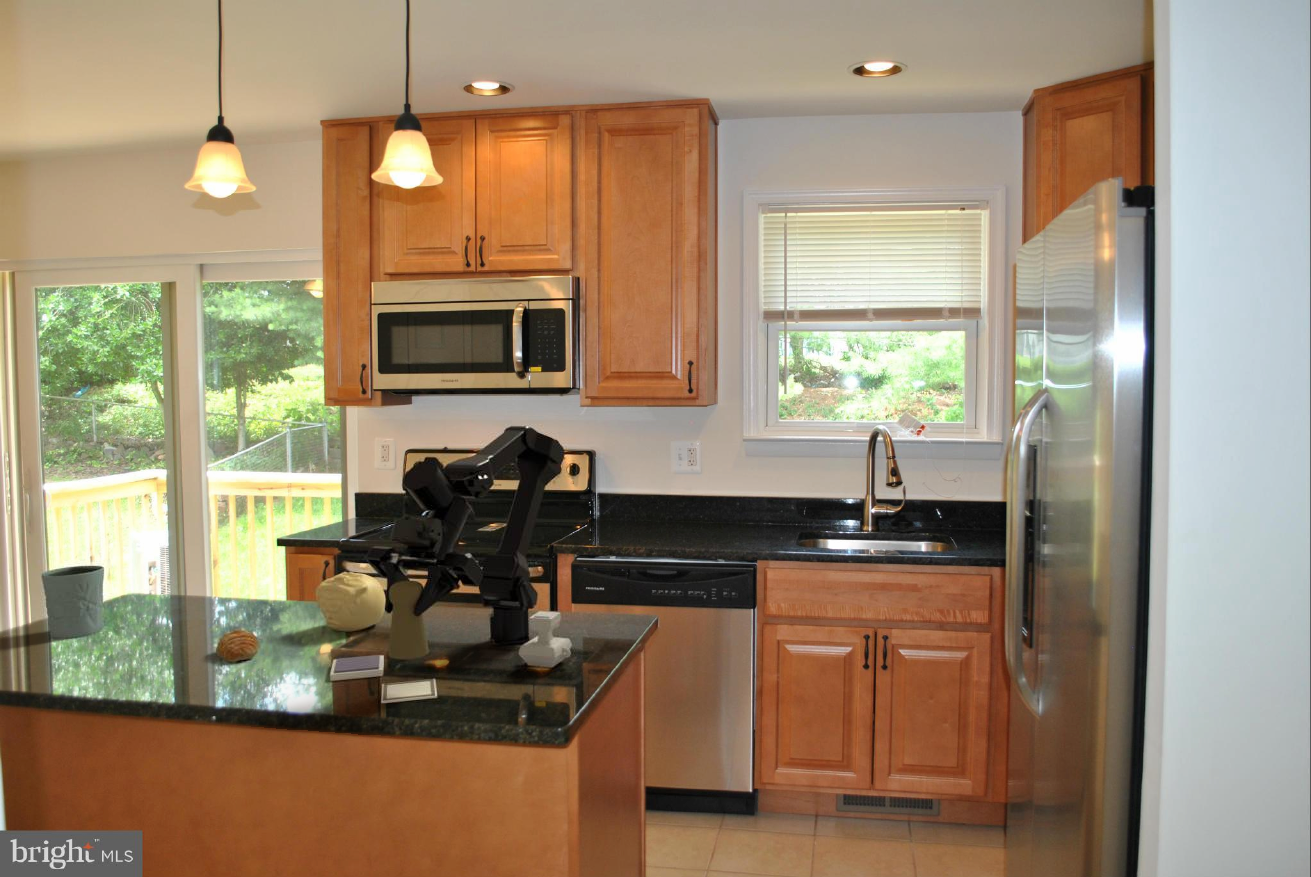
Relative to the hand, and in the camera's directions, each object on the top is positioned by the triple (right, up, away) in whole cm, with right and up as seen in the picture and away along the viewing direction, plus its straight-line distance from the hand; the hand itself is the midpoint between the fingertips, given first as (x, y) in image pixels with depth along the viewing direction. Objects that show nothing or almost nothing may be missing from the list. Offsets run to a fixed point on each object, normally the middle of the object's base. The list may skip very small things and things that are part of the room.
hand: (401, 613), depth 140 cm
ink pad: (-10, -12, +12) cm, 20 cm away
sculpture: (-20, -10, +39) cm, 45 cm away
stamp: (+20, -11, +14) cm, 27 cm away
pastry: (-34, -12, +23) cm, 43 cm away
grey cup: (-72, -11, +38) cm, 82 cm away
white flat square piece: (+1, -12, +2) cm, 12 cm away
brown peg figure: (+1, -7, +2) cm, 7 cm away
